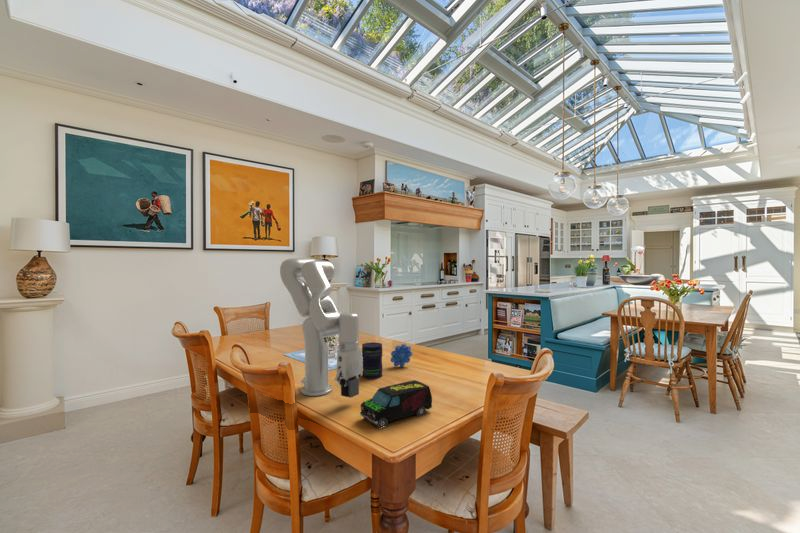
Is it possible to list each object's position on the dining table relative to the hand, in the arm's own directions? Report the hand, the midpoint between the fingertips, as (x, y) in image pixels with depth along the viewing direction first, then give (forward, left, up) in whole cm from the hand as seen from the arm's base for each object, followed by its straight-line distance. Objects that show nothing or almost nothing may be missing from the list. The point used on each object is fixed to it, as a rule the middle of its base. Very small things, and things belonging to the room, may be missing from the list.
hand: (349, 393), depth 135 cm
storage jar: (-15, +32, -4) cm, 35 cm away
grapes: (-13, +53, -4) cm, 54 cm away
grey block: (0, 0, 0) cm, 0 cm away
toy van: (+20, +3, -5) cm, 21 cm away
